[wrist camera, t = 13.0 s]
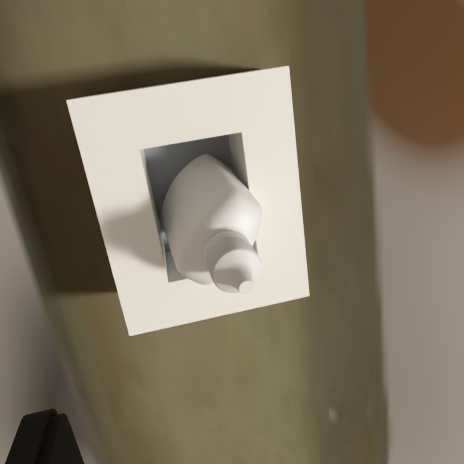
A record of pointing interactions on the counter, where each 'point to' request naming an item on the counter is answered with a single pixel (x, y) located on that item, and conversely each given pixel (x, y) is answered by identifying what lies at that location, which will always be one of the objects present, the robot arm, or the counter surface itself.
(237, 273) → the eye dropper bottle
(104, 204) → the keyed holder
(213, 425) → the counter surface
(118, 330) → the counter surface
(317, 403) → the counter surface
